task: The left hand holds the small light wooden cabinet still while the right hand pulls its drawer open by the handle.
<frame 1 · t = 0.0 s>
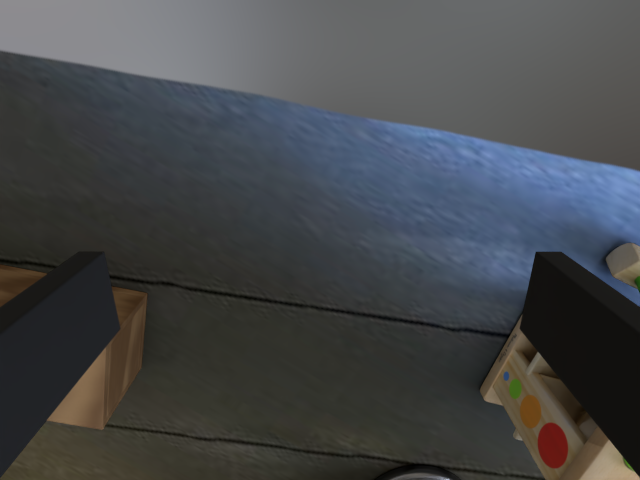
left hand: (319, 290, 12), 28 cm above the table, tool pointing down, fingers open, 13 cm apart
cabinet: (49, 314, 45), on the table
pounding bench toy: (575, 329, 46), on the table
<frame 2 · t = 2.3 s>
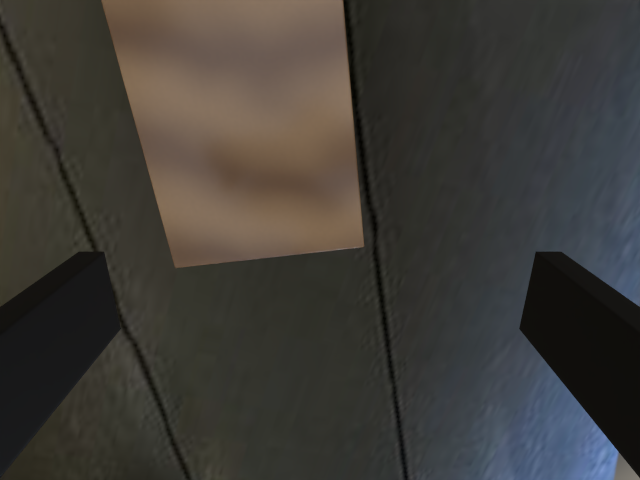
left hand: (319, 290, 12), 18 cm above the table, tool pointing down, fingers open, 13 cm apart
cabinet: (258, 55, 26), on the table
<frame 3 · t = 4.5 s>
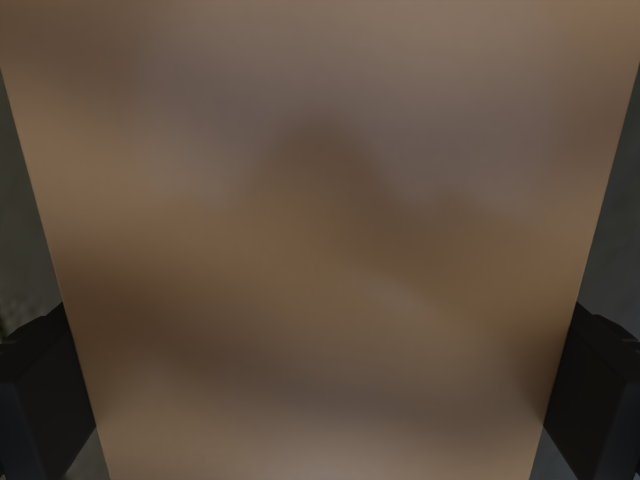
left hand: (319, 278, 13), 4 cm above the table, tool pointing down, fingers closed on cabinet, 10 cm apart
cabinet: (319, 87, 15), on the table, touching left hand
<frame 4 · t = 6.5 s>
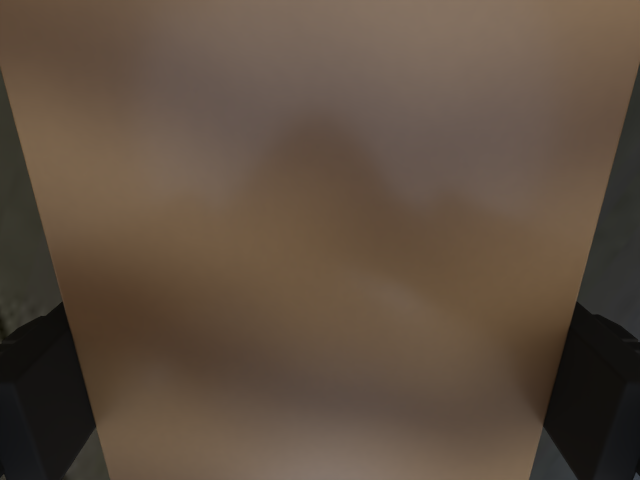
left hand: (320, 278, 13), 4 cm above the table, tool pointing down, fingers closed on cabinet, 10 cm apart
cabinet: (319, 87, 15), on the table, touching left hand
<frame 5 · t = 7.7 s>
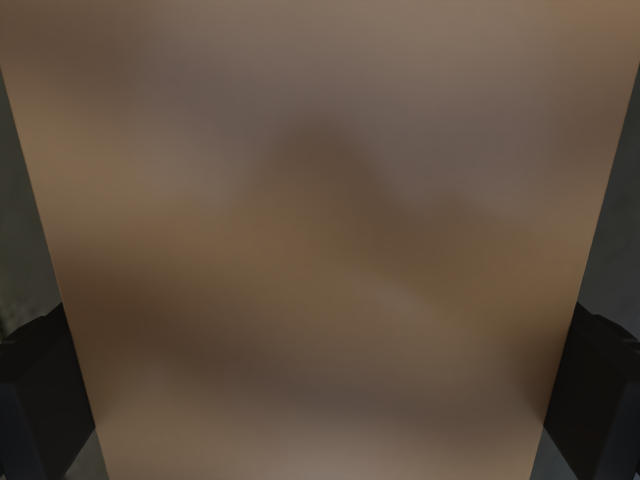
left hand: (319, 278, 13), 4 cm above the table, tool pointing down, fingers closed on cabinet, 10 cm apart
cabinet: (319, 87, 15), on the table, touching left hand
when the left hand's fingers open (4 cm above the table, at t = 9.6 s): cabinet stays where it is, on the table.
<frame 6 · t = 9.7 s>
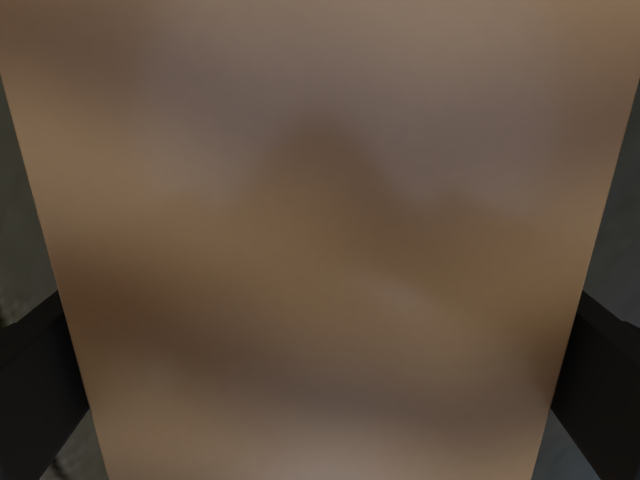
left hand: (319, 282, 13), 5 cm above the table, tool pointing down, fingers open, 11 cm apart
cabinet: (320, 84, 15), on the table
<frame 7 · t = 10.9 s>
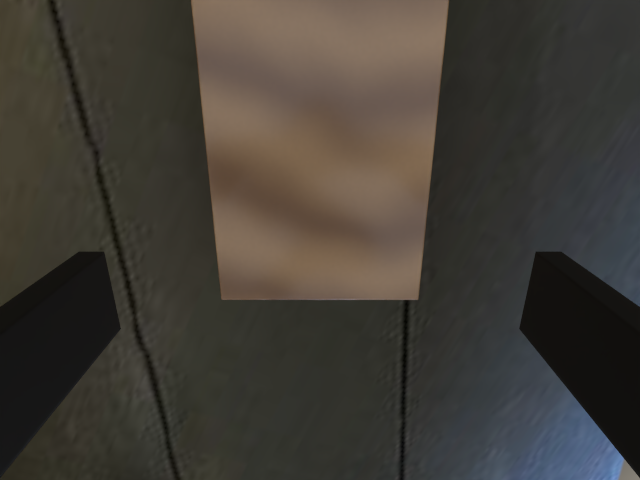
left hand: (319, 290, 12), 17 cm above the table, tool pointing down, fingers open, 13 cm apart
cabinet: (320, 83, 26), on the table
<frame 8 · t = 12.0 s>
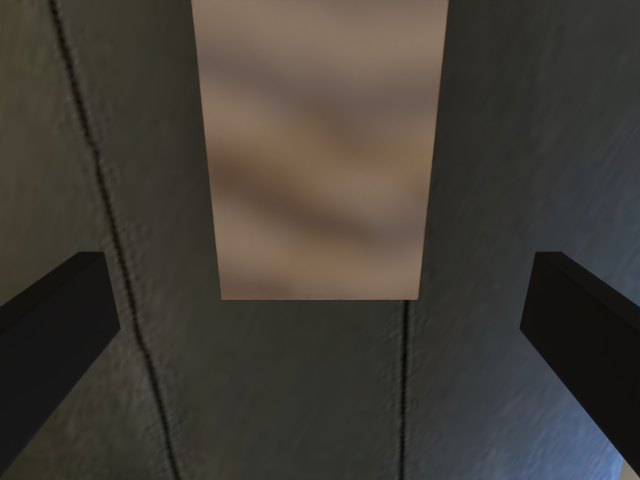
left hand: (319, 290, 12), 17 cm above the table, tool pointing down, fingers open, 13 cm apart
cabinet: (319, 83, 26), on the table
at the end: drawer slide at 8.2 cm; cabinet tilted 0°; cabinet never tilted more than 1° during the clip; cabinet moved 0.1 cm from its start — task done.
